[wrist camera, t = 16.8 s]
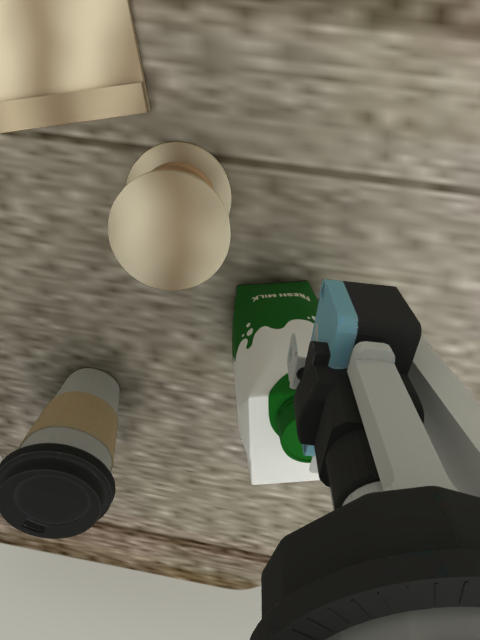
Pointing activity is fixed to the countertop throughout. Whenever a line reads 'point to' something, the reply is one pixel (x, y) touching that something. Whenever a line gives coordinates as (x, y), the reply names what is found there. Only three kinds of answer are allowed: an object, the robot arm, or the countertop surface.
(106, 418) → the coffee cup
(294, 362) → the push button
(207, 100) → the countertop surface
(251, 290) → the milk carton
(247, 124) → the countertop surface
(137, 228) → the bobbin
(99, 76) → the terminal board
